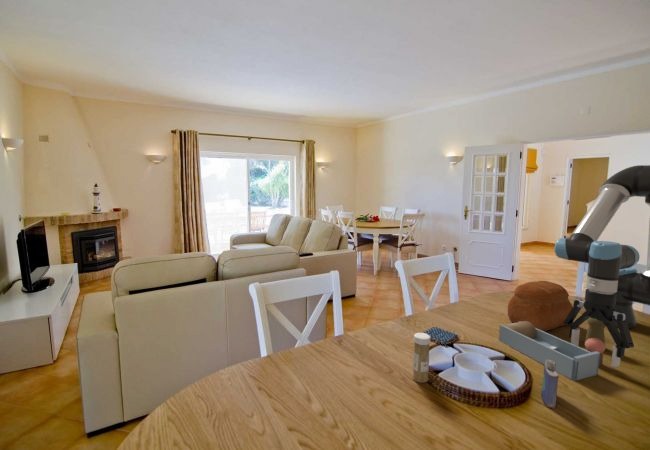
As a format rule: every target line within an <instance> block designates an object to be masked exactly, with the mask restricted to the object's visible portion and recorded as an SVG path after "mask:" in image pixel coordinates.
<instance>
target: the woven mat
mask: <svg viewBox="0 0 650 450" xmlns="http://www.w3.org/2000/svg"><path fill="white" fill-rule="evenodd" d="M423 333H425V334H428V335H429V336H430V342H432V343H436V344H438V345H441V344H446V343H449V342H452V343H453V342H455V341H457V340H459V338H460V336H459V334H457V333H455V332H451V331H448V330H445V329H443V328H439V327H437V326H436V327H435V326H432V327H430V329H429V328H428V329H427V330H425V331H423ZM440 343H441V344H440Z"/></svg>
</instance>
